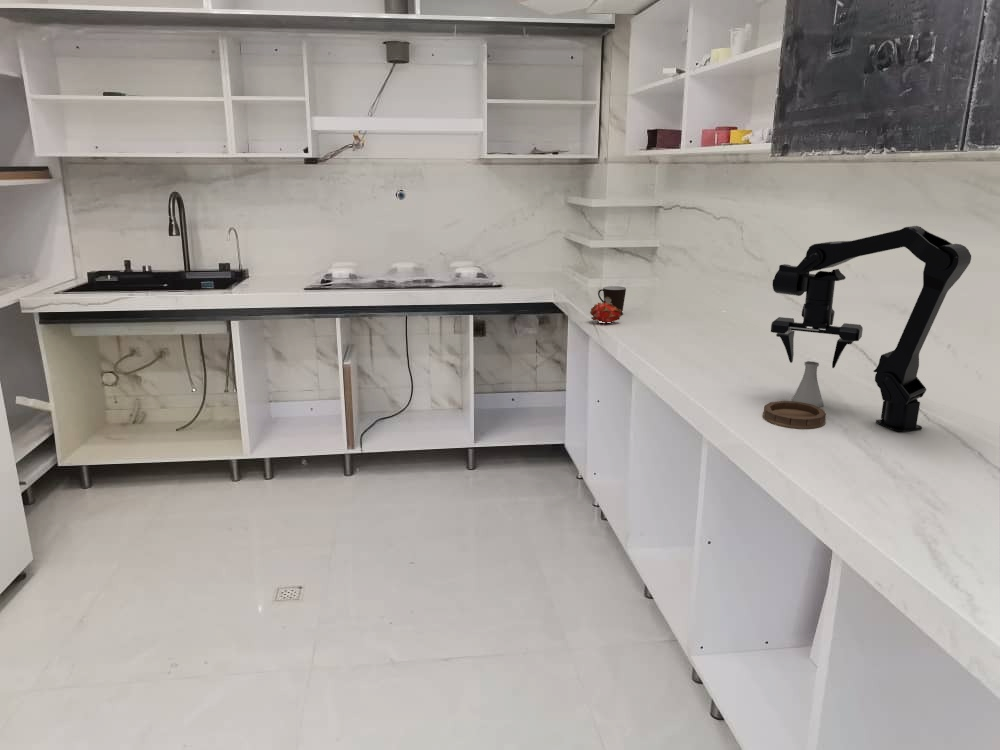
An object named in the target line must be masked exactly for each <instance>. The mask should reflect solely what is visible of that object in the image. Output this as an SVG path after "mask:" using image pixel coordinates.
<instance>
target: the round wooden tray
mask: <svg viewBox="0 0 1000 750" xmlns="http://www.w3.org/2000/svg"><path fill="white" fill-rule="evenodd" d="M762 418H763V419H764V420H765V421H766V420H767V421H766V422H768V423H770V422H771V423H770V424H772V423H773V425H775V424H776V425H775V426H779V427H783V428H787V429H797V430H810V429H813V430H814V429H817V428H818V429H819V428H821V427H824V426H825V425H826V422H827V421H826V418H827V412H825V410H824V409H823V408H821V407H817V406H815V405H812V404H807V403H802V402H795V401H792V400H778V401H771V402H768V403H767V404H765V405H764V406H763V412H762Z"/></svg>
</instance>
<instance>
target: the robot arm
mask: <svg viewBox="0 0 1000 750" xmlns="http://www.w3.org/2000/svg"><path fill="white" fill-rule="evenodd" d="M900 248H905V249H908V251H909V252H910V253H911V254H913V256H915V257H916V258H917V259H918V260H920V261H921V262H923V263H924V268H923V271H922V272H923V273H922V283H923V284H922V288H921V291H920V293H919V295H918V297H917V300H916V301H915V304H914V306H913V309H912V310H911V311H912V312H911V313H910V315H909V318H908V320H907V322H906V324H905V326H904V329H903V330H902V333H901V336H900V338H899V341H898V342H897V345H896V347H895V348H894V350H891V351H888V352H885V353H883V354H881V355H880V358H879V360H878V365H877V367H876V368H875V369H874V370H873V373H875V375H874V382H875V383H876V385H877V387H878V388H879V390H880V394H881V398H882V401H883V402H882V406H881V407H882V408H881V415H880V419H876V420H875V423H876V424H878V425H881V426H883V427H885V428H888V429H890V430H892V431H894V432H898V433H901V432H908V431H909V432H910V431H916V430H922V429H923V426H921V425H920V424H918V419H919V412H920V406H921V401H919V400H918V399H919V398H923V397H924V395H925V393H926V392H927V388H926V386H925V384H923V382H921V380H920V379H919V378H918V376H917V375H918V372H919V368H920V352H921V351H922V348H923V345H924V344H925V341H926V339H927V337H928V336H929V335H928V334H929V332H930V330H931V328H932V326H933V324H934V322H935V320H936V318H937V315H938V313H939V311H940V309H941V306H942V305H943V303H944V300H945V298H946V296H947V293H948V292H949V291H950V289H951V288H952V287H953V286H954V285H955V284H956V283H957V281H959V279H960V278H961V277H962V275H963V274H964V273H965V272H966V270H967V268H968V267H969V265H970V263H971V260H972V254H971V252H970V251H969V249H968V248H967V246H965V245H963V244H960V243H952V242H950V241H949V240H946V239H945V238H942V237H940V236H938V235H935V234H933V233H931V232H929V231H927V230H926V229H924V228H923V227H922V226H919V225H912V226H911V225H910V226H906V227H903V228H901V229H897V230H893V231H889V232H883V233H879V234H876V235H872V236H868V237H867V236H866V237H862V238H859V239H854V240H841V241H840V240H838V241H827V242H820V243H814V244H811V245H810V246H809V247H808V249H807V251H806V253H805V256H804V258H803V259H802V260H801V261H800V262H799V263H798V265H797V266H796V265H791V264H780V265H779V266H778V270H777V271H776V273H775V274H774V275H775V276H774V278H772V279H773V280H772V290H773V291H774V292H775V294H782V295H788V296H795V297H800V296H802V295H803V294H804V293H805V299H804V303H803V306H802V310H801V317H802V318H803V322H795V318H791V317H782V316H778V317H777V318H775V319H774V320H773V321H772V322H771V325H770V333H775V334H776V335H775V336H776V337H779V338H780V339H781V342H782V344H783V346H784V349H785V351H786V355H787V358H788V361H789V363H791V364H792V363H793V361H794V354H795V353H794V338H795V332H796V331H797V332H805V333H807V332H808V333H815V334H816V333H817V334H824V335H825V334H827V335H836V336H838V337H839V338H838V339H837V340H836V345H835V349H834V354H833V358H832V362H831V363H832V365H831V366H832V367H831V368H832V369H835V368H836V365H837V363H838V361H839V359H840V357H841V356H842V353H843V352H844V350H845V348H846V346H847V345H852V344H853V342H859V341H860V339H861V338H862V336H863V326H862V325H861V324H857V323H847V322H846V323H845V322H844V323H843V324H842V325H841V326H837V325H836V326H835V325H834V326H833V323H834V319H835V318H834V317H835V314H836V313H835V310H834V309H833V302H834V294H835V293H834V292H835V285H836V284H835V283H836V282H840V281H844V280H846V276H845V274H843V273H842V272H841V271H840V269H839V268H835V269H832V271H826V270H824V269H829V268H834V267H836V266H840V265H842V264H844V263H847V262H849V261H850V260H853V259H855V258H858V257H863V256H867V255H873V254H876V253H882V252H886V251H890V250H896V249H900ZM815 271H817V272H816V273H810V272H815Z"/></svg>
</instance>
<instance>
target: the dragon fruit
mask: <svg viewBox="0 0 1000 750" xmlns="http://www.w3.org/2000/svg"><path fill="white" fill-rule="evenodd" d="M589 313H590V315H591V318H590V319H591V320H592V319H593V320H592V321H598V320H599V321H602V322H612V321H613V322H616V321H619V320H620V318H621V317H622V316H623V315H624V313H623V312H622V311H621V310H620V309H617V308H616V307H615V306H614V305H612V303H610V304H607V302H605V303H604V302H597V303H596V304H594V306H593V307H591V309H590V311H589ZM613 322H612V323H613Z"/></svg>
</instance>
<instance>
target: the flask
mask: <svg viewBox="0 0 1000 750" xmlns="http://www.w3.org/2000/svg"><path fill="white" fill-rule="evenodd" d="M819 366H820V363H819V362H817V361H812V360H811V361H809V360H807V361H804V367H805V369H804V372H803V375H802V376H803V377H802V379H801V381H800V382H799V385H798V387H797V388H796V391H795V393H794V394H793V396H792V399H791V401H795V402H802V403H807V404H812V405H815V406H817V407H819V408H821V407H824V400H823V398H822V393H821V389H820V385H819V382H818V375H817V374H818V373H817V372H818V367H819Z"/></svg>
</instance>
